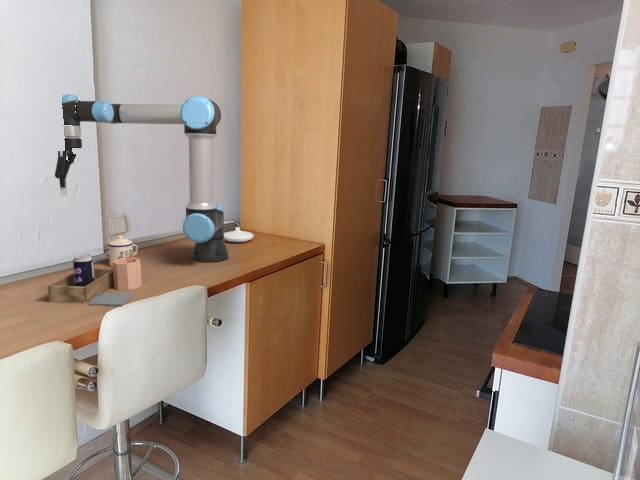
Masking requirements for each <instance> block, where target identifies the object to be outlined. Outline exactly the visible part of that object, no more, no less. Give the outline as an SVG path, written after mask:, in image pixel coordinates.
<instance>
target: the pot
mask: <svg viewBox="0 0 640 480" xmlns="http://www.w3.org/2000/svg"><path fill="white" fill-rule="evenodd" d="M141 267H142V266H141V259H140V258H137V257H133V258H121V259H116V260H115V261H113V267H112V269H113V275H114V285H113V287H114V289H115V290H117V291H131V290H137V289H139V288H140V287H141V286H142V270H141V269H142V268H141Z"/></svg>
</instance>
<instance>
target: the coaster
mask: <svg viewBox="0 0 640 480" xmlns="http://www.w3.org/2000/svg"><path fill="white" fill-rule="evenodd" d="M135 296H136V294H135V293H126V292H125V293H119V292H103V293H102V294H100V295H99V296H97V297H96V298H94V299H93V300H91V301H90V302H88V303H87V305H88V304H90V305H89V306H92V305H109V306H108V307H123V306H124V305H125V304H126V303H127V302H129V301H130V300H131V299H133V298H134V297H135ZM132 297H133V298H132ZM122 305H123V306H122Z"/></svg>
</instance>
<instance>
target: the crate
mask: <svg viewBox="0 0 640 480" xmlns="http://www.w3.org/2000/svg"><path fill="white" fill-rule="evenodd" d="M93 270H94V281H93V282H92V283H90V284H88V285H87V286H85V287H78V286H75V279H74V272H73V273H71V274H69V275H67V276H65V277H63V278H61V279H59V280H57V281H56V282H53V283H51V284H50V285H48V286H47V293H48V302H49V303H62V302H88V303H90V302H91V301H93V300H94V299H95V297H96V298H97V297H98V295H99V296H100V295H101V293H102V294H103V293H106V291H108V290H109V289H110V288H112V287H114V275H113V268H94V267H93ZM92 299H93V300H92ZM89 301H90V302H89Z"/></svg>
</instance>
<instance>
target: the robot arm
mask: <svg viewBox="0 0 640 480" xmlns="http://www.w3.org/2000/svg"><path fill="white" fill-rule="evenodd" d="M64 94H65V93H64ZM77 101H78V102H77ZM76 102H77V103H76ZM75 105H76V107H75ZM62 106H63V107H62V109H63V119H64V125H72V126H64V125H63V126H64V136H65V137H66V138H65V139H64V140H65V151H63V150H58V151H57V159H56V160H57V161H56V166H55V171H54V177H55V178H56V179H58V180H59V188H60V189H59V191H60V196H61V197H70V189H69V180H68V179H69V178H68V177H67V176H68V173H69V170H70V168H71V165H72V164H74V163H73V162H74V159H75V157H76V154H73V152H72V148H79V149H82V148H83V141H82V140H83V139H81V137H82V130H81V129H82V128H81V122H83V123H84V122H87V123H102V124H112V125H113V124H114V125H116V124H136V125H137V124H142V125H143V124H144V125H145V124H147V125H148V124H149V125H184V126H183V128H184V129H183V130H184V132H183V134H184V135H185V136H186V137H187V139H188V170H189V171H188V173H189V175H188V178H189V179H188V182H189V183H188V185H189V186H188V187H189V202H188V204H186V205H185V218H184V220H183V222H182V231H183V234H184V236H186V238H187V239H188V240H189V241H191V242H194V246H193V249H192V252H191V258H192V260H193V261H195V262H201V263H216V262H217V261H218V262H222V261H226V260H228V259H229V249H228V246H227V244H226V240H224V233H225V215H224V214H225V211H224V206H223V205H222V204H214V203H213V202H214V201H213V197H214V195H213V194H214V193H213V139H215V137H216V136H217V126H218V125H219V124H220V122H221V119H222V112H221V108H220V107H219V105H218V104H217V103H216V102H215V101H214V100H211V99H209V98H207V97H204V96H200V95H199V96H190V97H189V98H187V99H185V101H184V102H183V104H152V103H151V104H148V103H143V104H141V103H140V104H139V103H137V104H136V103H110V102H109V101H103V100H79V97H78V95H74V94H65V95H63V97H62ZM75 111H76V113H75ZM67 156H68V160H69V161H68V160H66V157H67ZM218 262H217V263H218Z"/></svg>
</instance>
